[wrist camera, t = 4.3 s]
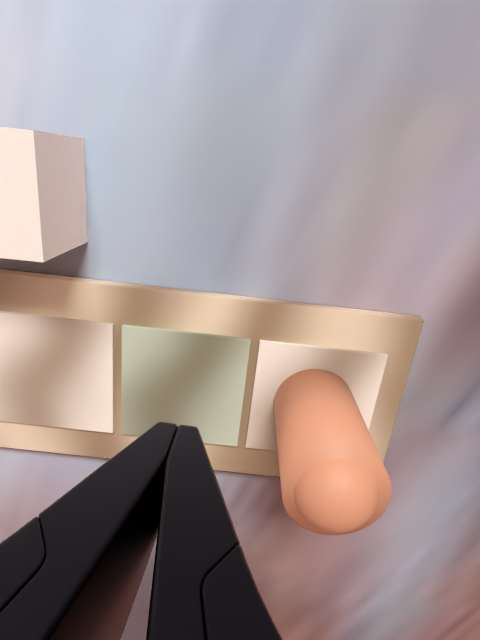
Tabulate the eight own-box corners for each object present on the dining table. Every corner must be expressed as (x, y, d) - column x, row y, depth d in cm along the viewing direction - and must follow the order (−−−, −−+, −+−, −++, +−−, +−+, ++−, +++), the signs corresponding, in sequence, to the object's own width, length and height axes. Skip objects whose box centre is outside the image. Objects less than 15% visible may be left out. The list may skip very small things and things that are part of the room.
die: (85, 139, 16) (31, 129, 12) (88, 243, 17) (42, 266, 13) (-18, 128, 16) (-105, 115, 12) (-6, 234, 17) (-80, 253, 13)
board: (418, 315, 18) (425, 322, 17) (372, 478, 21) (377, 490, 20) (-178, 248, 18) (-197, 252, 17) (-133, 424, 21) (-148, 433, 20)
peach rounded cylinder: (360, 373, 18) (415, 478, 12) (344, 440, 19) (386, 566, 13) (279, 364, 18) (293, 465, 12) (268, 432, 19) (276, 555, 13)
